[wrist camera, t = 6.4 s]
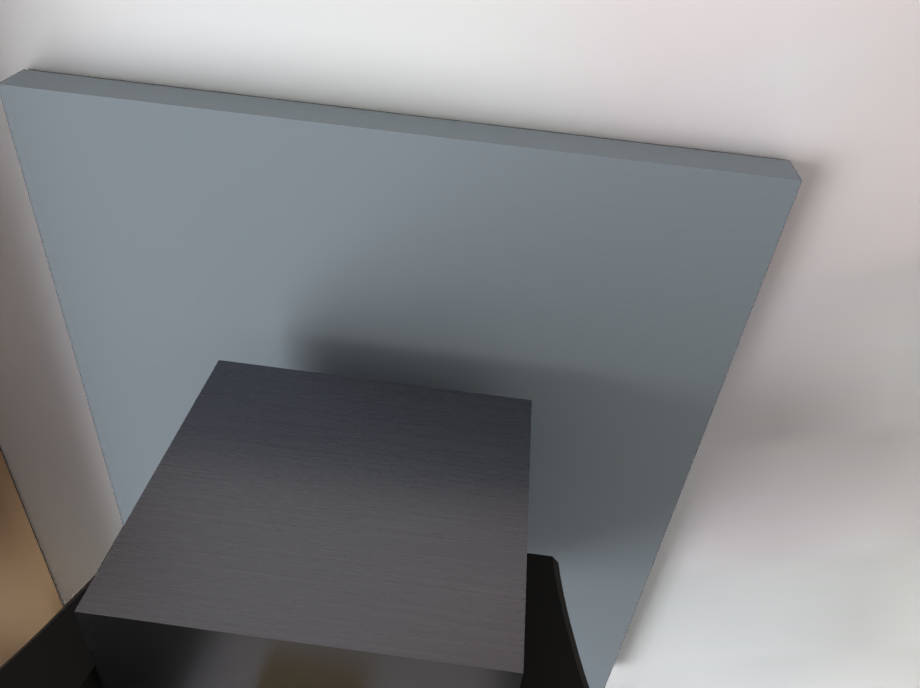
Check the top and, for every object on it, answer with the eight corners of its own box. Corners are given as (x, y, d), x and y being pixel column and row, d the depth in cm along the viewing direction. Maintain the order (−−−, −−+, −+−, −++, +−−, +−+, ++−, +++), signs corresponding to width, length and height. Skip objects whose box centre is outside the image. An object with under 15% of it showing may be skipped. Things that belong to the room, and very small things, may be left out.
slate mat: (601, 664, 17) (603, 690, 16) (163, 604, 17) (152, 627, 17) (789, 160, 10) (801, 180, 9) (23, 69, 10) (-3, 84, 9)
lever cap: (491, 609, 13) (468, 940, 10) (248, 577, 14) (129, 890, 10) (531, 399, 10) (520, 760, 7) (218, 359, 11) (28, 690, 7)
